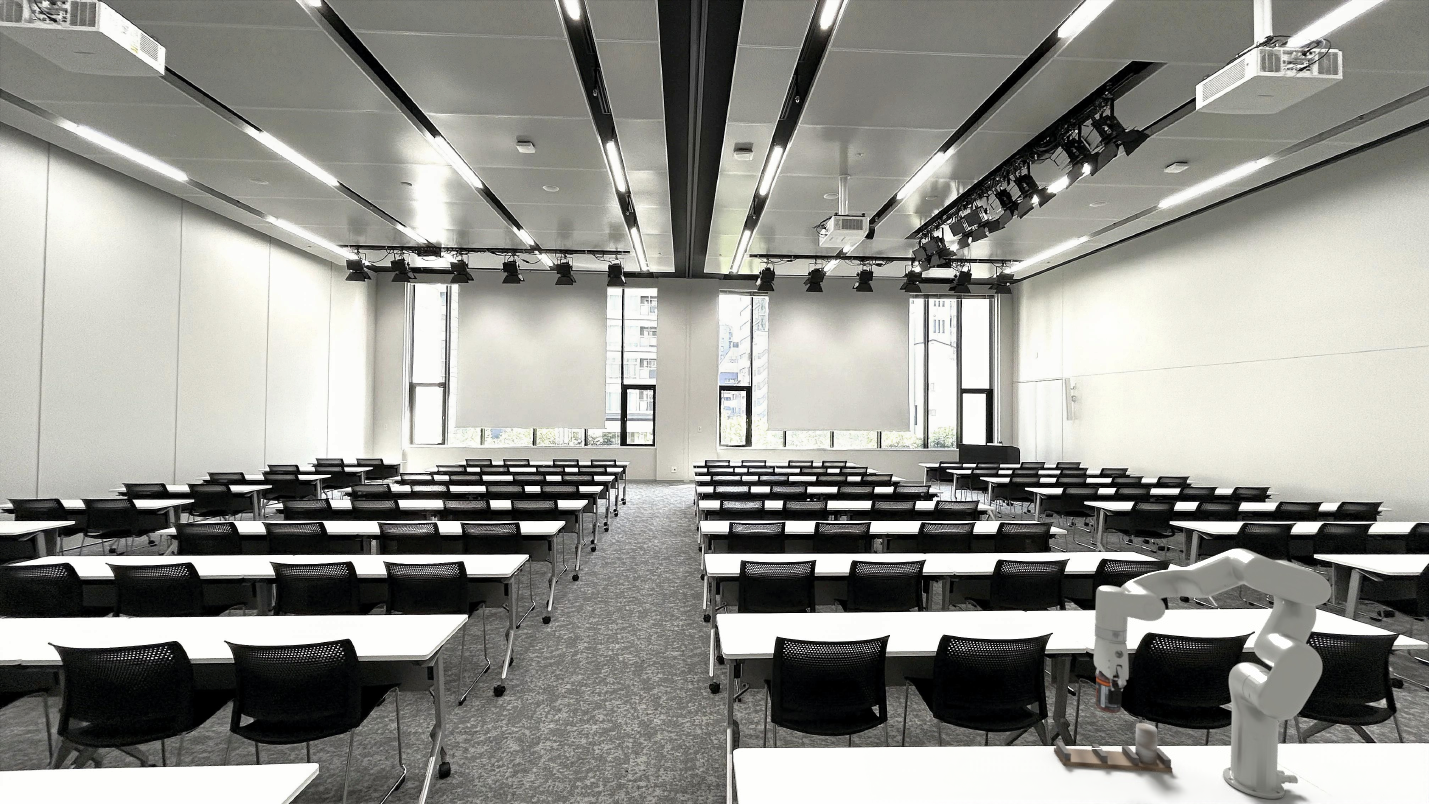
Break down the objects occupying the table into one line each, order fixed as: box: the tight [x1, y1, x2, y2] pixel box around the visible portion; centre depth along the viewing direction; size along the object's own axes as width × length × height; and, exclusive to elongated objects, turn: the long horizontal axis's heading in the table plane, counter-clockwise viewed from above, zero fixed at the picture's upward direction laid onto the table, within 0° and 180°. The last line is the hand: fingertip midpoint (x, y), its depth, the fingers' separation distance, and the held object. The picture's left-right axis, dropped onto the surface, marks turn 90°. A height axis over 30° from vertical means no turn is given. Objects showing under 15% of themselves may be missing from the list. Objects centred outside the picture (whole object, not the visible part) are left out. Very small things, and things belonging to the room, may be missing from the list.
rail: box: [1053, 722, 1173, 773], centre depth 186 cm, size 28×7×10 cm, turn 84°
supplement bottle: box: [1095, 671, 1122, 714], centre depth 181 cm, size 6×6×11 cm
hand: (1108, 697), depth 182 cm, fingers closed on supplement bottle, 6 cm apart
